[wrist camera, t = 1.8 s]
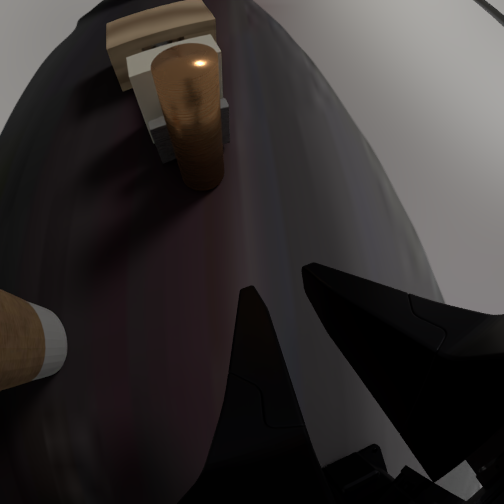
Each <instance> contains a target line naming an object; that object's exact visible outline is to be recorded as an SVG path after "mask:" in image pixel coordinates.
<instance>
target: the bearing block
mask: <svg viewBox="0 0 504 504" xmlns="http://www.w3.org/2000/svg"><path fill="white" fill-rule="evenodd" d="M209 34H211V36H212V37H213V39H214V41H215V42H216V21H215V18H214V16H213V15H212V14H211V12H210V11H209V10H208V8H207V7H206V6H205V4H204V3H203V2H202V0H185V1H180V2H176V3H172V4H167V5H163V6H160V7H156V8H152V9H149V10H145V11H142V12H139V13H135V14H132V15H129V16H126V17H123V18H120V19H118V20H115V21H112V22H109V23H107V52H108V54H109V57H110V60H111V63H112V65H113V68H114V71H115V73H116V76H117V78H118V81H119V84H120V86H121V89H122V91H126V90H129V89H131V88H133V87H132V84H131V82H130V79H129V74H128V67H127V59H126V57H129V56H132V55H135V54H138V53H141V52H144V51H147V50H150V49H152V48H151V45H154V44H157V43H160V42H164V41H168V40H171V39H172V42H173V43H174V42H178V41H182V40H186V39H190V38H195V37H199V36H204V35H209Z"/></svg>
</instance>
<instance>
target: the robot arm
mask: <svg viewBox="0 0 504 504" xmlns="http://www.w3.org/2000/svg"><path fill="white" fill-rule="evenodd" d="M302 277H303V284H304V290H305V293H306V295H307V297H308V299H309V300H310V302H311V304H312V306H313V308H314V309H315V311H316V313H317V315H318V317H319V319H320V320H321V322H322V324H323V326H324V328H325V329H326V331H327V333H328V334H329V336H330V337H331V338H332V340H333V341H334V343H335V344H336V345H337V347H338V348H339V349H340V351H341V352H342V354H343V355H344V356H345V358H346V359H347V361H348V362H349V363H350V365H351V366H352V368H353V369H354V370H355V372H356V373H357V374H358V376H359V377H360V379H361V380H362V381H363V383H364V384H365V386H366V387H367V388H368V390H369V391H370V393H371V394H372V395H373V397H374V398H375V400H376V401H377V403H378V404H379V405H380V407H381V408H382V410H383V411H384V412H385V414H386V415H387V417H388V418H389V420H390V421H391V422H392V424H393V425H394V427H395V428H396V429H397V431H398V432H399V433H400V435H401V437H402V438H403V440H404V441H405V443H406V444H407V445H408V447H409V448H410V450H411V451H412V453H413V454H414V456H415V457H416V458H417V460H418V461H419V463H420V464H421V466H422V467H423V469H424V470H425V471H426V473H427V474H428V476H429V477H430V479H431V480H432V481H433V482H432V481H430V480H429V479H427V478H425V477H424V476H422V475H421V474H419V473H417V472H416V471H414V470H413V469H411V468H409V467H408V466H406V465H405V466H404V468H403V469H402V470H401V473H400V474H399V475H398V476H397V477H396V479H394V478H393V477H392V476H390V475H389V474H388V472H387V469H386V466H385V462H384V459H383V455H382V452H381V449H380V447H379V446H378V445H377V444H372V445H370V446H368V447H366V448H364V449H362V450H361V451H359V452H354V453H352V454H350V455H348V456H346V457H344V458H342V459H340V460H338V461H336V462H334V463H332V464H330V465H328V466H327V467H325V468H323V469H321V466H320V464H319V461H318V459H317V456H316V454H315V451H314V449H313V446H312V443H311V440H310V437H309V434H308V431H307V428H306V425H305V422H304V419H303V416H302V413H301V410H300V407H299V404H298V401H297V397H296V394H295V391H294V388H293V385H292V382H291V379H290V376H289V373H288V370H287V366H286V363H285V360H284V357H283V354H282V351H281V348H280V345H279V342H278V339H277V335H276V332H275V329H274V326H273V323H272V320H271V317H270V314H269V311H268V308H267V307H266V305H265V303H264V301H263V300H262V298H261V297H260V295H259V294H258V292H257V290H256V289H255V287H254V286H248V287H246V288H243V289H241V290H240V293H239V300H238V308H237V315H236V322H235V329H234V336H233V343H232V350H231V358H230V365H229V374H228V378H227V385H226V391H225V396H224V402H223V406H222V409H221V413H220V417H219V421H218V424H217V427H216V430H215V434H214V437H213V440H212V443H211V447H210V450H209V453H208V456H207V460H206V462H205V465H204V468H203V470H202V472H201V474H200V476H199V478H198V479H197V481H196V482H195V484H194V485H193V486H192V487H191V488H190V490H189V491H188V492H187V493H186V494H185V495H184V496H183V497H182V499H181V500H180V501H179V502H178V503H177V504H504V314H502V315H490V314H484V313H480V312H476V311H471V310H467V309H463V308H459V307H455V306H450V305H447V304H443V303H439V302H435V301H432V300H428V299H425V298H422V297H419V296H416V295H413V294H408V293H407V292H403V291H400V290H397V289H394V288H391V287H388V286H385V285H382V284H379V283H376V282H373V281H370V280H367V279H364V278H361V277H358V276H355V275H352V274H349V273H346V272H343V271H339V270H336V269H333V268H330V267H327V266H324V265H321V264H318V263H310V264H308V265H305V266H303V267H302ZM374 448H375V451H373V452H372V450H373V449H374ZM464 460H466V461H467V462H468V464H469V465H470V466H471V468H472V469H473V471H474V472H475V473H476V478H477V479H478V481H479V482H480V483H481V485H482V486H483V487H482V488H481V489H480V490H479V491H478V492H476V493H475V494H474V495H473V496H472V497H471V498H470V499H468V500H467V501H465V500H463V499H461V498H459V497H458V496H456V495H454V494H452V493H450V492H449V491H447V490H445V489H444V488H442V487H440V486H439V485H437V484H435V483H434V482H436V481H437V480H439V479H440V478H442V477H443V476H444V475H446V474H447V473H449V472H450V471H451V470H453V469H454V468H455V467H456V466H458V465H459V464H460V463H462V462H463V461H464Z"/></svg>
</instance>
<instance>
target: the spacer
mask: <svg viewBox="0 0 504 504" xmlns="http://www.w3.org/2000/svg"><path fill="white" fill-rule="evenodd" d="M185 43H199V44H205V45H208V46H210V47H212V48H213V49H214V50H215V51H216V52H217V54H218V66H219V88H220V99H223V88H222V58H221V50H220V49H219V47H218V45H217V44H216V42H215V41H214V39H213V37H212V36H211V34H209V35H204V36H199V37H195V38H190V39H186V40H182V41H178V42H174V43H171V44H167V45H163V46H160V47H157V48H153V49H150V50H147V51H144V52H141V53H138V54H135V55H132V56H129V57H126V59H127V67H128V74H129V79H130V82H131V84H132V87H133V90H134V93H135V96H136V98H137V101H138V104H139V107H140V109H141V112H142V115H143V118H144V120H145V123H146V126H147V128H148V131H149V133H150V136H151V139H152V141H153V144H154V143H155V142H154V140H153V137H152V135H151V132H150V129H149V124H148V121H149V120H152V119H155V118H158V117H161V116H163V112H162V109H161V105H160V102H159V98H158V94H157V91H156V87H155V84H154V80H153V76H152V73H151V68H150V67H151V63H152V61H153V59H154V58H155V57H156V56H157V55H158V54H159V53H161V52H162V51H164V50H166V49H168V48H170V47H173V46H176V45H180V44H185Z"/></svg>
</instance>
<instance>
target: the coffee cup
mask: <svg viewBox="0 0 504 504" xmlns="http://www.w3.org/2000/svg"><path fill="white" fill-rule="evenodd" d="M66 355H67V338H66V333H65V330H64V327H63V325H62V323H61V321H60V320H59V318H58V317H57V316H56V315H55V314H54V313H53V312H52V311H50V310H48V309H46V308H44V307H41V306H38V305H35V304H33V303H30V302H27V301H25V300H23V299H21V298H19V297H17V296H14V295H12V294H10V293H8V292H5V291H3V290H1V289H0V391H1V390H4V389H8V388H11V387H14V386H18V385H21V384H24V383H27V382H30V381H32V380H36V379H40V378H44V377H47V376H50V375H53V374H55V373H56V372H57V371H59V370H60V368H61V367H62V366H63V364H64V361H65V359H66Z"/></svg>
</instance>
